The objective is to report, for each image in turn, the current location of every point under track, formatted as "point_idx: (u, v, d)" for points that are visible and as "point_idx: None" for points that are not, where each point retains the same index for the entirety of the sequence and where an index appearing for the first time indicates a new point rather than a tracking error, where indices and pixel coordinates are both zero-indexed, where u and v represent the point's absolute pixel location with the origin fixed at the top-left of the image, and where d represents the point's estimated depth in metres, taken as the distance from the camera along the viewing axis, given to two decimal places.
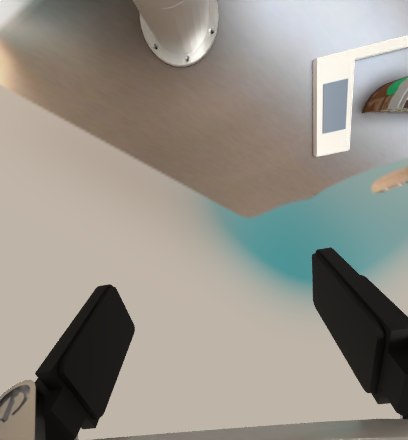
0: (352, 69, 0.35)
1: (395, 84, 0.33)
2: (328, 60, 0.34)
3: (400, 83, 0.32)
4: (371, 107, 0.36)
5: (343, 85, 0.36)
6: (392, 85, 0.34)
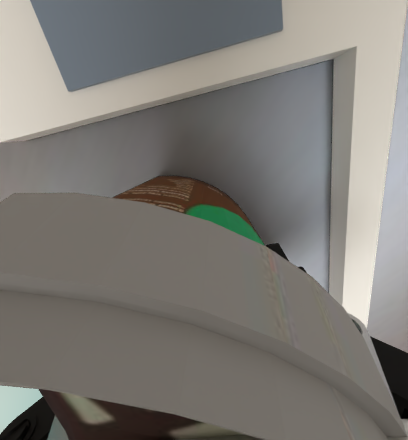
0: (316, 47, 0.07)
1: (244, 228, 0.07)
2: None
3: None
4: (161, 183, 0.09)
5: (251, 16, 0.07)
6: (241, 221, 0.07)
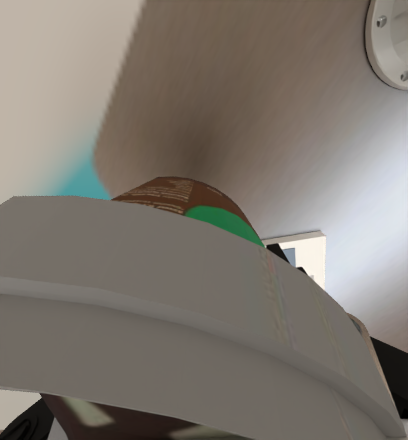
0: None
1: (244, 229, 0.07)
2: (319, 248, 0.28)
3: None
4: (160, 184, 0.09)
5: None
6: (240, 222, 0.07)
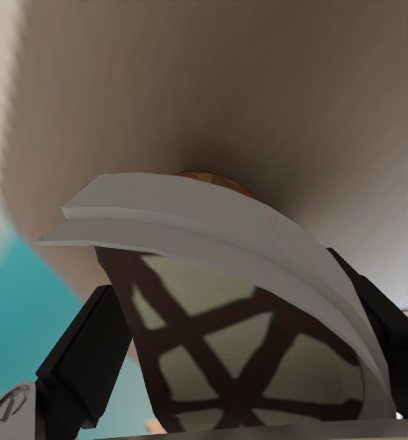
0: None
1: None
2: None
3: None
4: (185, 176, 0.10)
5: None
6: None
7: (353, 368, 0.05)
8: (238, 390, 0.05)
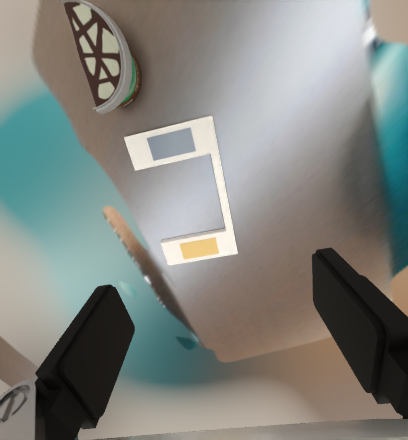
0: (203, 153, 0.38)
1: None
2: (209, 127, 0.36)
3: None
4: None
5: (189, 148, 0.38)
6: None
7: (114, 36, 0.25)
8: (97, 50, 0.26)
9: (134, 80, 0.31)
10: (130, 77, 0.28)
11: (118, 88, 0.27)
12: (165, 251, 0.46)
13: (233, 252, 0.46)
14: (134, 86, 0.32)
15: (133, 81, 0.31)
